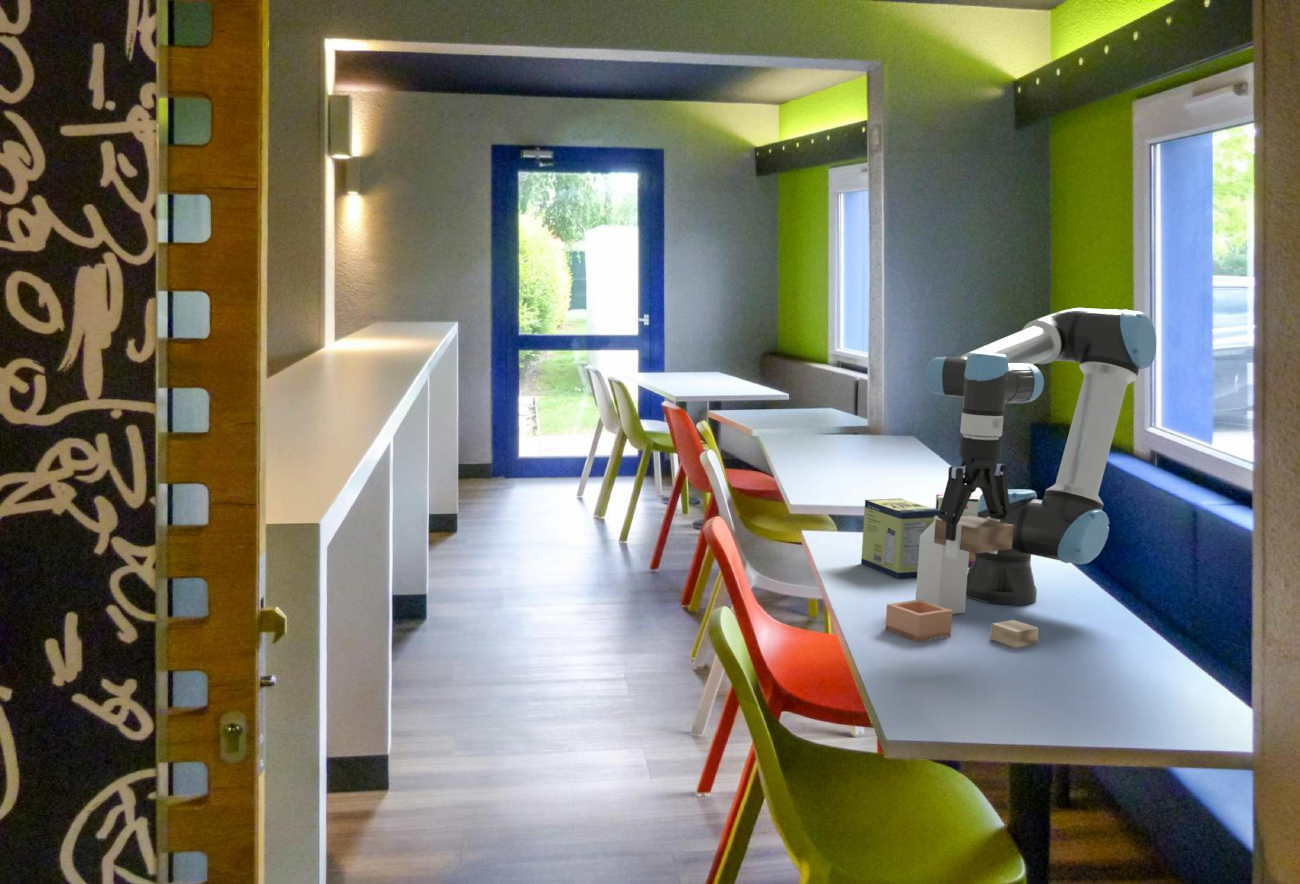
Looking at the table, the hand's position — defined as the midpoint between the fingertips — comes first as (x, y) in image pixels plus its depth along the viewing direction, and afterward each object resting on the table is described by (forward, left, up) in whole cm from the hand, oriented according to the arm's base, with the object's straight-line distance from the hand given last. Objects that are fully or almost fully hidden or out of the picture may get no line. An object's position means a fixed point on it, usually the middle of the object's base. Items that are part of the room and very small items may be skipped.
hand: (971, 554), depth 229 cm
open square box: (+6, -6, -16) cm, 18 cm away
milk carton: (-10, -16, -16) cm, 25 cm away
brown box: (0, 0, +2) cm, 2 cm away
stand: (-7, +6, -16) cm, 18 cm away
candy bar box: (-45, -45, -16) cm, 66 cm away
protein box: (-27, -46, -16) cm, 56 cm away
